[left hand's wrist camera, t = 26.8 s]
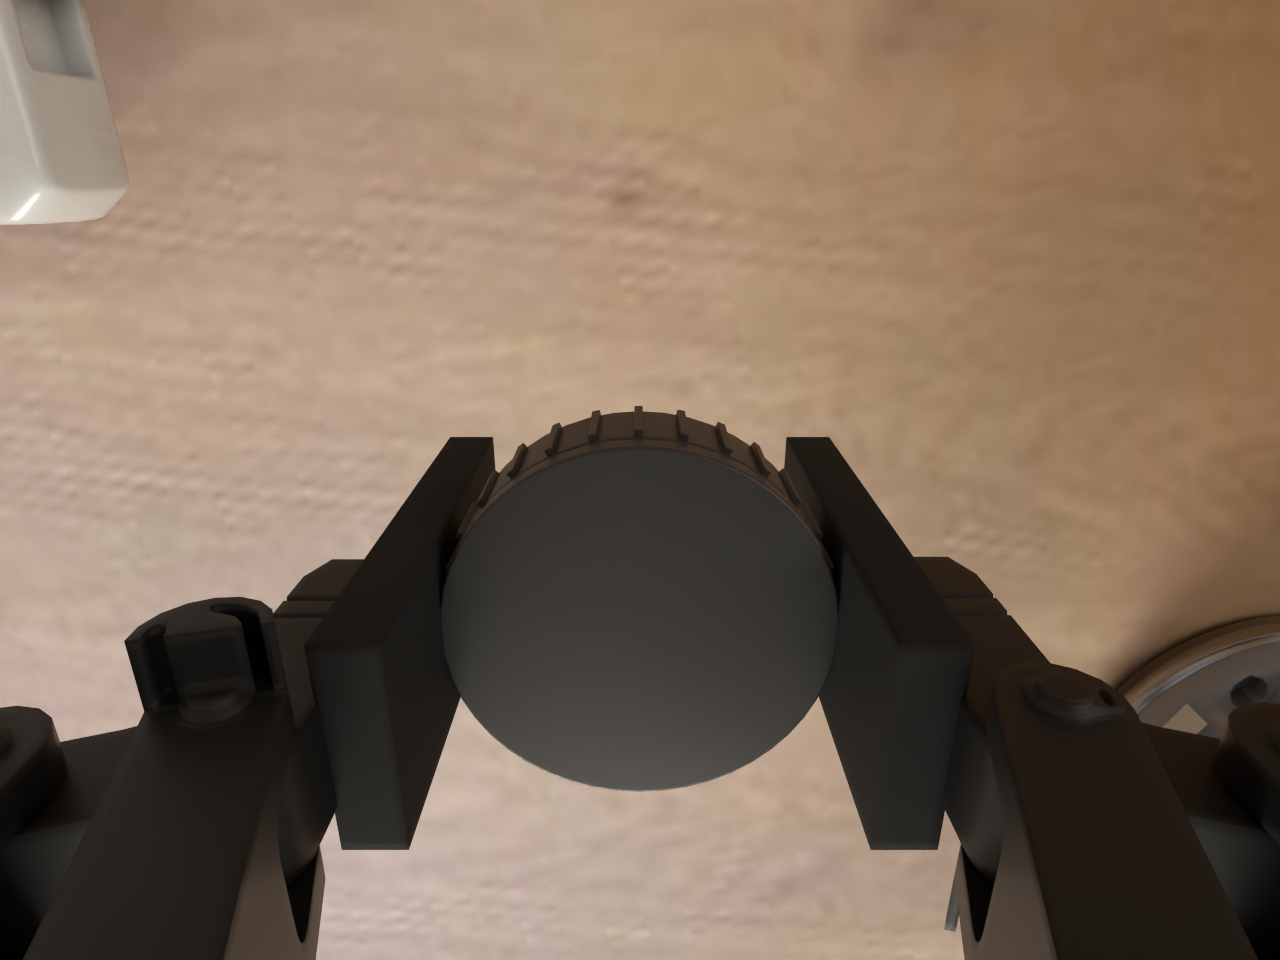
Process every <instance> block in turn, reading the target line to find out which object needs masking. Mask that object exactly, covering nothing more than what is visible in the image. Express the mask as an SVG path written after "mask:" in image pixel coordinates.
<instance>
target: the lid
mask: <svg viewBox="0 0 1280 960" xmlns="http://www.w3.org/2000/svg"><path fill="white" fill-rule="evenodd" d="M820 538H823V534H822V532H821V530H820V528H819V526H818V524H817V522H816V520H815V518H814V516H813V514H812V512H811V510H810V508H809V506H808V504H807V502H806V500H803V501H801V499H800V497H799V495H798V493H797V491H796V489H795V487H794V485H793V483H792V481H791V479H790V477H789V475H788V473H787V472H786V471H785V469H782V470H781V471H779V472H778V470H777V469H776V468H775V467H774V466H773V465H772V464H771V463H770V462H769V461H768V460H767V459H766V458H765V457H764V455H763V453H762V451H761V448H760V446H759V445H758V444H756V443H755V442H753V444H752V445H751V446H749V445H748V444H746V443H745V442H743V441H742V440H740V439H739V438H737V437H735V436H734V435H732V434H730V433H727V430H726V427H725V425H724V424H722V423H720V422H718V423H717V425H716V427H715V426H713V425H710V424H707V423H704V422H701V421H698V420H695V419H692V418H688V417H686V415H685V411H682V410H677V413H676V415H672V414H667V413H657V412H643V407H642V406H635V412H622V413H612V414H607V415H601V413H600V410H598V411H593V412H592V416H591V418H587V419H584V420H581V421H578V422H575V423H572V424H569V425H566V426H564V427H561V425H560V423H557V424H555V425H553V426H552V429H551V432H550V433H549V434H547V435H545V436H544V437H542V438H540V439H539V440H537V441H536V442H534V443H533V444H531V445H530V446H528V447H527V446H526V445H525V444H524V443H523V444H521V445H520V446H519V447H518V448H517V451H516V453H515V455H514V457H513V459H512V460H511V461H510V462H509V463H508V464H507V465H506V466H505V467H504V468H503V469H502V470H501V472H500V473H498V472H497V471H496V470H494V471H493V472H492V473H491V474H490V476H489V478H488V480H487V482H486V484H485V486H484V488H483V490H482V492H481V494H480V497H479V499H478V501H477V503H476V502H474V501H473V502H472V504H471V506H470V508H469V510H468V512H467V514H466V516H465V518H464V520H463V522H462V524H461V526H460V528H459V530H458V532H457V534H456V536H455V539H457V540H459V542H458V544H457V546H456V548H455V550H454V552H453V554H452V556H451V559H450V561H449V563H448V565H447V567H446V569H445V572H446V577H445V581H444V584H443V588H442V594H441V602H440V614H441V624H442V634H443V643H444V651H445V659H446V664H447V666H448V669H449V672H450V675H451V678H452V680H453V682H454V684H455V686H456V688H457V690H458V692H459V694H460V696H461V698H462V700H463V701H464V702H465V704H466V705H467V707H468V708H469V710H470V711H471V712H472V714H473V715H474V717H475V718H476V719H477V720H478V721H479V722H480V723H481V725H482V726H483V727H484V728H485V729H486V730H487V731H488V732H489V733H490V734H491V735H492V736H493V737H494V738H495V739H497V740H498V741H499V742H500V743H501V744H502V745H504V746H505V747H506V748H507V749H508V750H510V751H511V752H513V753H514V754H516V755H517V756H519V757H520V758H522V759H523V760H525V761H526V762H528V763H530V764H532V765H534V766H536V767H538V768H540V769H542V770H544V771H546V772H548V773H551V774H553V775H556V776H558V777H561V778H564V779H566V780H569V781H572V782H576V783H580V784H584V785H588V786H591V787H597V788H604V789H610V790H618V791H638V792H641V791H661V790H669V789H675V788H682V787H688V786H691V785H695V784H699V783H703V782H706V781H710V780H713V779H715V778H718V777H721V776H723V775H726V774H728V773H731V772H733V771H735V770H737V769H739V768H741V767H743V766H745V765H747V764H749V763H751V762H752V761H754V760H755V759H757V758H758V757H760V756H761V755H763V754H764V753H766V752H767V751H769V750H770V749H772V748H773V747H774V746H775V745H777V744H778V743H779V742H780V741H781V740H782V739H784V738H785V737H786V736H787V735H788V734H789V733H790V732H791V731H792V730H793V729H794V728H795V727H796V726H797V725H798V723H799V722H800V721H801V720H802V719H803V718H804V717H805V715H806V714H807V712H808V711H809V710H810V708H811V707H812V705H813V704H814V702H815V701H816V700H817V698H818V696H819V694H820V692H821V690H822V688H823V686H824V684H825V682H826V680H827V678H828V675H829V672H830V669H831V666H832V663H833V661H834V654H835V646H836V637H837V627H838V617H839V602H838V594H837V588H836V584H835V581H834V577H833V574H834V566H833V564H832V562H831V560H830V558H829V556H828V554H827V551H826V549H825V547H824V545H823V543H822V541H821V539H820Z"/></svg>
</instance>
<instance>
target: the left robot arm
mask: <svg viewBox="0 0 1280 960" xmlns="http://www.w3.org/2000/svg"><path fill="white" fill-rule="evenodd" d="M784 469H785V471H786V472H787V473H788V475H789V477H790V479H791V481H792V483H793V485H794V487H795V489H796V491H797V493H798V495H799V497H800V499H801V501H803V500H806V502H807V504H808V506H809V508H810V510H811V512H812V514H813V516H814V518H815V520H816V522H817V524H818V526H819V528H820V530H821V532H822V534H823V538H820V539H821V541H822V543H823V545H824V547H825V549H826V551H827V554H828V556H829V558H830V560H831V562H832V564H833V566H834V574H833V577H834V581H835V584H836V588H837V594H838V602H839V617H838V627H837V637H836V646H835V654H834V661H833V663H832V666H831V669H830V672H829V675H828V678H827V680H826V682H825V684H824V686H823V688H822V690H821V692H820V694H819V698H820V701H821V704H822V707H823V710H824V713H825V716H826V719H827V722H828V725H829V728H830V731H831V734H832V737H833V740H834V743H835V746H836V749H837V752H838V755H839V757H840V760H841V763H842V766H843V769H844V772H845V775H846V778H847V781H848V784H849V787H850V790H851V793H852V796H853V799H854V802H855V805H856V808H857V811H858V813H859V816H860V819H861V822H862V825H863V828H864V831H865V834H866V837H867V840H868V843H869V846H870V849H871V850H938V845H939V839H940V834H941V829H942V823H943V818H944V812H945V810H946V812H947V814H948V817H949V819H950V821H951V823H952V825H953V827H954V829H955V831H956V833H957V835H958V838H959V840H960V842H961V846H960V851H959V856H958V861H957V866H956V871H955V876H954V881H953V886H952V891H951V896H950V901H949V906H948V911H947V917H946V923H945V929H946V930H950V931H956V926H957V921H958V917H960V925H961V933H962V941H963V950H964V958H965V960H1280V615H1276V616H1269V617H1262V618H1256V619H1251V620H1247V621H1242V622H1238V623H1234V624H1231V625H1228V626H1224V627H1221V628H1218V629H1215V630H1212V631H1210V632H1207V633H1205V634H1202V635H1199V636H1197V637H1195V638H1193V639H1191V640H1189V641H1187V642H1184V643H1182V644H1180V645H1178V646H1177V647H1175V648H1173V649H1171V650H1169V651H1168V652H1166V653H1164V654H1162V655H1161V656H1159V657H1158V658H1156V659H1155V660H1153V661H1152V662H1150V663H1149V664H1147V665H1146V666H1145V667H1143V668H1142V669H1141V670H1139V671H1138V672H1137V673H1136V674H1134V675H1133V676H1132V677H1130V678H1129V679H1128V680H1127V681H1126V682H1125V683H1124V684H1123V685H1122V686H1121V687H1119V688H1118V689H1117V690H1115V689H1113V688H1112V687H1111V686H1109V685H1108V684H1106V683H1105V682H1103V681H1102V680H1100V679H1097V678H1095V677H1093V676H1090V675H1088V674H1086V673H1083V672H1081V671H1079V670H1076V669H1072V668H1068V667H1064V666H1060V665H1055V664H1051V663H1050V662H1049V661H1048V660H1047V659H1046V657H1045V656H1044V655H1043V654H1042V653H1041V651H1040V650H1039V649H1038V648H1037V647H1036V645H1035V644H1034V643H1033V642H1032V641H1031V639H1030V638H1029V637H1028V636H1027V635H1026V633H1025V632H1024V631H1023V630H1022V629H1021V627H1020V626H1019V625H1018V624H1017V622H1016V621H1015V620H1014V619H1013V618H1012V616H1011V615H1007V610H1006V609H1005V608H1004V607H1003V606H1002V604H1001V603H1000V602H999V601H998V600H997V598H993V594H992V592H991V591H990V590H989V589H988V588H987V586H986V585H985V584H984V583H983V582H982V580H981V579H980V578H979V577H978V576H977V574H975V573H974V572H972V571H970V570H969V569H967V568H965V567H964V566H962V565H960V564H959V563H957V562H955V561H954V560H952V559H950V558H949V557H913V556H912V554H911V553H910V551H909V550H908V548H907V547H906V546H905V544H904V543H903V541H902V540H901V539H900V537H899V536H898V534H897V533H896V531H895V530H894V529H893V527H892V526H891V524H890V523H889V522H888V520H887V519H886V517H885V516H884V514H883V513H882V512H881V510H880V509H879V507H878V506H877V505H876V503H875V502H874V500H873V499H872V497H871V496H870V495H869V493H868V492H867V490H866V489H865V488H864V486H863V485H862V483H861V482H860V480H859V479H858V478H857V476H856V475H855V473H854V472H853V471H852V469H851V468H850V466H849V465H848V463H847V462H846V461H845V459H844V458H843V456H842V455H841V454H840V452H839V451H838V449H837V448H836V446H835V445H834V444H833V442H832V441H831V439H830V438H829V437H787V439H786V452H785V466H784ZM494 470H495V459H494V445H493V437H450V439H449V440H448V441H447V443H446V444H445V446H444V447H443V449H442V450H441V451H440V453H439V454H438V456H437V457H436V458H435V460H434V461H433V463H432V464H431V466H430V467H429V468H428V470H427V471H426V473H425V474H424V475H423V477H422V478H421V480H420V481H419V483H418V484H417V485H416V487H415V488H414V490H413V491H412V492H411V494H410V495H409V497H408V498H407V500H406V501H405V502H404V504H403V505H402V507H401V508H400V509H399V511H398V512H397V514H396V515H395V517H394V518H393V519H392V521H391V522H390V524H389V525H388V526H387V528H386V529H385V531H384V532H383V534H382V535H381V536H380V538H379V539H378V541H377V542H376V543H375V545H374V546H373V548H372V549H371V551H370V552H369V553H368V555H367V556H366V558H365V559H332V560H331V561H329V562H327V563H326V564H324V565H322V566H321V567H319V568H317V569H316V570H314V571H312V572H311V573H309V574H307V575H306V576H304V577H303V578H302V579H301V581H300V582H299V583H298V584H297V585H296V587H295V588H294V589H293V590H292V591H291V593H290V594H289V595H288V596H287V601H283V602H282V604H281V605H280V606H279V607H278V608H277V610H276V611H275V612H274V613H273V612H272V609H271V608H269V607H268V606H267V605H265V604H264V603H263V602H261V601H258V600H253V599H248V598H243V597H226V598H213V599H208V600H203V601H198V602H193V603H188V604H185V605H182V606H180V607H177V608H174V609H172V610H169V611H166V612H163V613H161V614H159V615H157V616H156V617H154V618H152V619H150V620H149V621H147V622H145V623H144V624H142V625H140V626H138V628H137V629H136V630H135V631H134V632H133V633H132V634H131V635H130V636H129V637H128V638H127V639H126V640H125V641H124V642H125V645H126V649H127V652H128V656H129V659H130V663H131V666H132V670H133V673H134V677H135V680H136V684H137V687H138V691H139V694H140V698H141V701H142V705H143V708H144V714H143V716H142V718H141V720H140V722H139V724H138V726H136V727H132V728H128V729H124V730H119V731H114V732H109V733H104V734H99V735H94V736H89V737H84V738H79V739H74V740H69V741H64V742H60V741H59V738H58V735H57V732H56V729H55V726H54V723H53V720H52V718H51V717H50V716H49V715H47V714H46V713H45V712H43V711H42V710H41V709H38V708H30V707H22V706H12V707H4V708H0V960H316V952H317V943H318V935H319V927H320V919H321V910H322V902H323V894H324V885H325V874H324V867H323V861H322V856H321V851H320V846H319V845H320V843H321V841H322V839H323V836H324V834H325V832H326V830H327V828H328V826H329V824H330V822H331V820H332V817H333V815H334V813H335V815H336V821H337V826H338V831H339V837H340V842H341V847H342V850H409V847H410V844H411V842H412V839H413V836H414V833H415V830H416V827H417V824H418V821H419V818H420V815H421V812H422V809H423V806H424V803H425V800H426V797H427V794H428V791H429V788H430V786H431V783H432V780H433V777H434V774H435V771H436V768H437V765H438V762H439V759H440V756H441V753H442V750H443V747H444V744H445V741H446V738H447V735H448V732H449V729H450V727H451V724H452V721H453V718H454V715H455V712H456V709H457V706H458V703H459V700H460V697H461V696H460V694H459V692H458V690H457V688H456V686H455V684H454V682H453V680H452V678H451V675H450V672H449V669H448V666H447V664H446V659H445V651H444V643H443V634H442V624H441V614H440V602H441V594H442V588H443V584H444V581H445V577H446V572H445V569H446V567H447V565H448V563H449V561H450V559H451V556H452V554H453V552H454V550H455V548H456V546H457V544H458V542H459V540H457V539H455V536H456V534H457V532H458V530H459V528H460V526H461V524H462V522H463V520H464V518H465V516H466V514H467V512H468V510H469V508H470V506H471V504H472V502H473V501H474V502H476V503H477V501H478V499H479V497H480V494H481V492H482V490H483V488H484V486H485V484H486V482H487V480H488V478H489V476H490V474H491V473H492V472H493V471H494Z"/></svg>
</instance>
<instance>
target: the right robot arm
mask: <svg viewBox="0 0 1280 960" xmlns="http://www.w3.org/2000/svg"><path fill="white" fill-rule="evenodd" d="M128 186H129V177H128V172H127V168H126V163H125V159H124V155H123V152H122V148H121V144H120V140H119V136H118V132H117V128H116V124H115V120H114V116H113V112H112V108H111V104H110V100H109V96H108V92H107V88H106V84H105V80H104V76H103V72H102V68H101V64H100V60H99V56H98V53H97V49H96V45H95V41H94V37H93V33H92V29H91V25H90V21H89V17H88V13H87V9H86V5H85V1H84V0H0V225H18V224H44V223H64V222H78V221H86V220H95V219H99V218H102V217H103V216H105V215H106V214H107V213H108V212H109V210H110V209H111V208H112V207H113V206H114V205H115V204H116V203H117V202H118V201H119V200H120V198H121V197H122V196H123V195H124V193H125V192H126V191H127V189H128Z"/></svg>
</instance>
